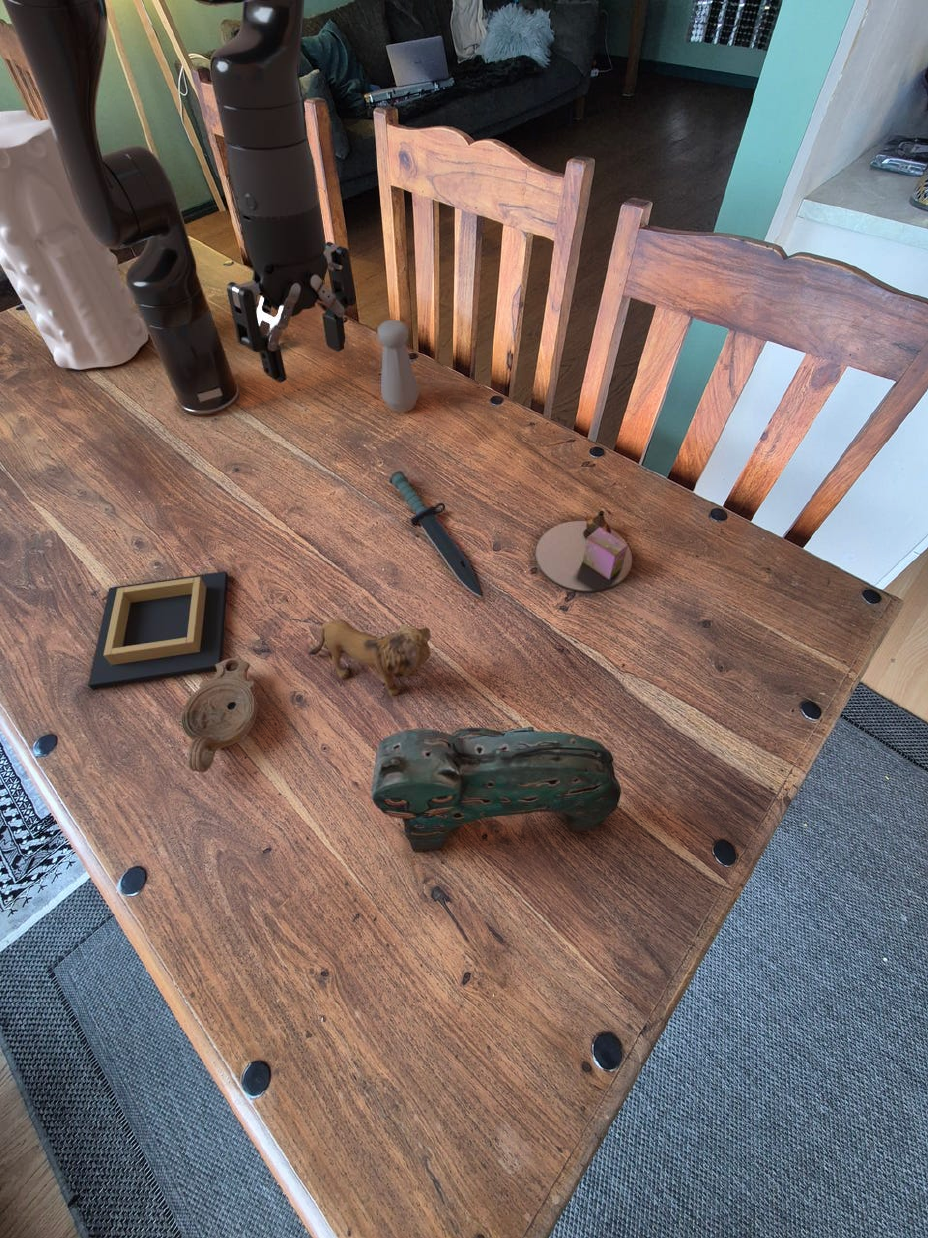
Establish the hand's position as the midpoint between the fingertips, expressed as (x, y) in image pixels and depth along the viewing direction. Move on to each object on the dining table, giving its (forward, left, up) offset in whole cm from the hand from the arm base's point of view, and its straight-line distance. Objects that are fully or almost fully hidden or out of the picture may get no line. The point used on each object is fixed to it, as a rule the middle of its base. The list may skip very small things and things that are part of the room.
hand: (307, 363), depth 71 cm
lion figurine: (+28, +3, -20) cm, 35 cm away
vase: (-48, -39, -20) cm, 65 cm away
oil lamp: (+32, -13, -20) cm, 40 cm away
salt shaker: (-20, +11, -20) cm, 30 cm away
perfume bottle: (+16, +30, -20) cm, 39 cm away
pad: (+18, -21, -20) cm, 35 cm away
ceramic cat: (+47, +13, -20) cm, 53 cm away
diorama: (-42, -9, -21) cm, 48 cm away
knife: (+9, +13, -21) cm, 26 cm away
